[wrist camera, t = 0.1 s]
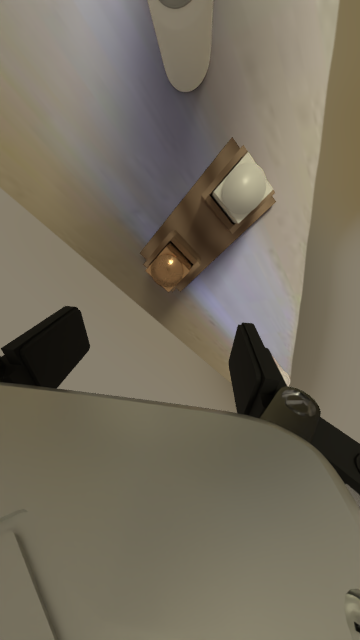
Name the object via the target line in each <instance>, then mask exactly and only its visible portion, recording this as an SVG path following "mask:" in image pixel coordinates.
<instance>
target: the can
mask: <svg viewBox="0 0 360 640" xmlns="http://www.w3.org/2000/svg"><path fill="white" fill-rule="evenodd" d="M213 1H214V0H148V5H149V9H150V13H151V17H152V21H153V25H154V29H155V33H156V37H157V41H158V45H159V49H160V52H161V56H162V60H163V64H164V68H165V71H166V74H167V77H168V79H169V81H170V83H171V84H172V85H173V87H175V88H176V89H177V90H179V91H181V92H190V91H192V90H194V89H195V88H197V87H198V86H199V85H200V84H201V82H202V81H203V79H204V77H205V75H206V73H207V70H208V67H209V62H210V53H211V38H212V20H213Z"/></svg>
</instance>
